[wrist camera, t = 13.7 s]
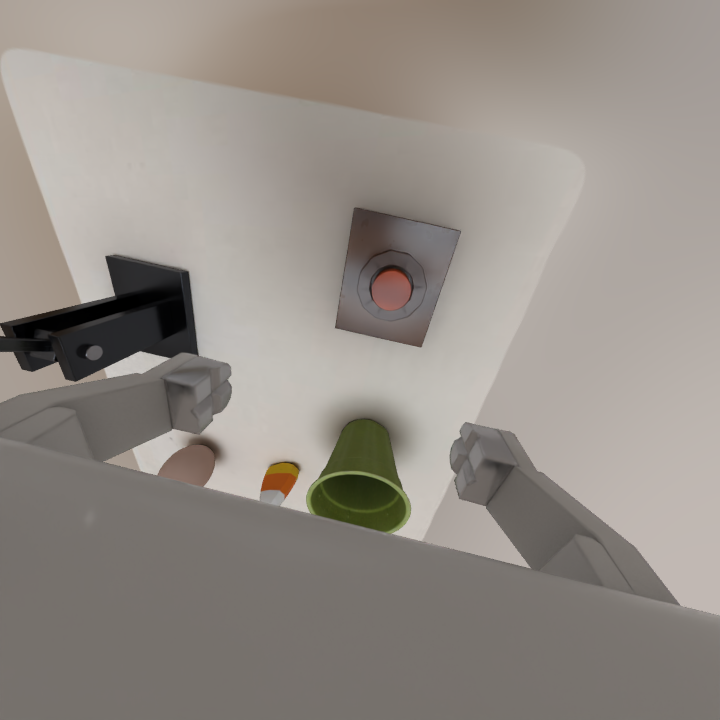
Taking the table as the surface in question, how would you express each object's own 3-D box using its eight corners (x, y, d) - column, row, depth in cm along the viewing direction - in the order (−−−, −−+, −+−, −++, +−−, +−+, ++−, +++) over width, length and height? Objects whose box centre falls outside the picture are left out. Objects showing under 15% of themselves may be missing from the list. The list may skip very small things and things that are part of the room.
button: (377, 264, 24) (376, 266, 23) (414, 272, 24) (416, 275, 23) (369, 301, 26) (367, 306, 24) (404, 309, 26) (405, 314, 24)
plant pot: (356, 473, 43) (345, 547, 33) (312, 424, 39) (285, 491, 29) (420, 449, 39) (430, 525, 29) (378, 392, 35) (373, 457, 25)
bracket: (114, 254, 30) (-51, 269, 19) (188, 271, 30) (66, 296, 19) (136, 345, 36) (18, 398, 25) (198, 359, 36) (108, 419, 24)
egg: (196, 463, 46) (151, 517, 38) (180, 434, 43) (127, 485, 35) (230, 463, 45) (192, 518, 37) (216, 434, 42) (171, 486, 34)
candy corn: (272, 474, 45) (250, 520, 38) (266, 463, 44) (242, 507, 37) (303, 472, 44) (287, 519, 37) (298, 460, 43) (279, 505, 36)
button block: (357, 208, 25) (351, 205, 22) (455, 230, 25) (466, 231, 22) (338, 321, 31) (331, 333, 27) (419, 340, 31) (423, 354, 27)
